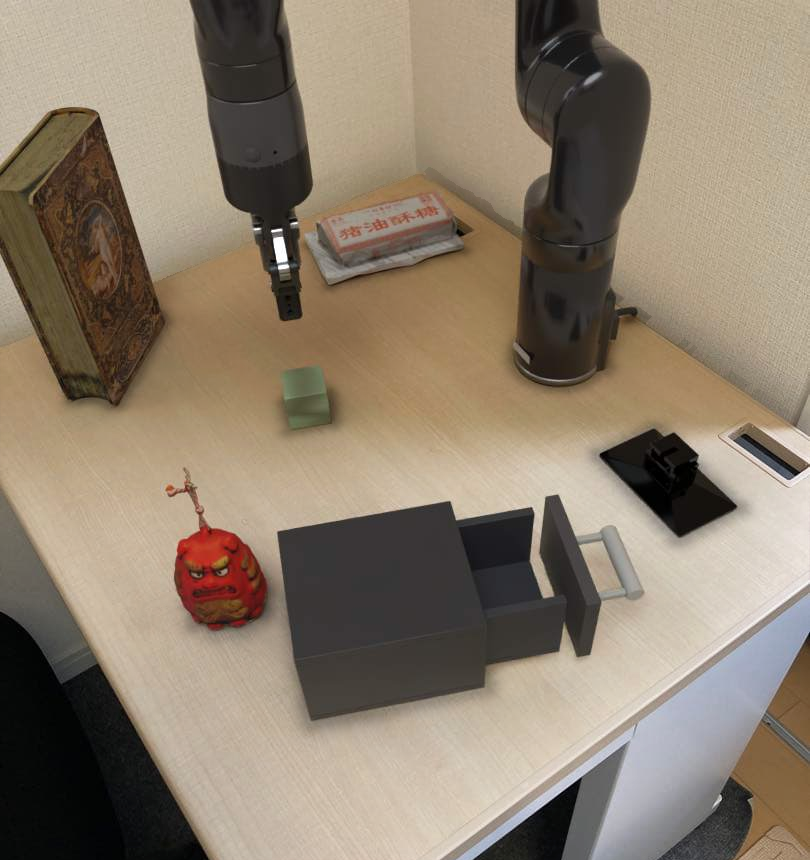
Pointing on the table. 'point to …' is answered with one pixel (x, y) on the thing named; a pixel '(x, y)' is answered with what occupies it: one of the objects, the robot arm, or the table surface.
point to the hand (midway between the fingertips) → (290, 314)
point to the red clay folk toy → (217, 573)
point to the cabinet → (382, 610)
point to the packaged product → (383, 236)
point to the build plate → (668, 480)
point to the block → (305, 397)
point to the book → (77, 255)
